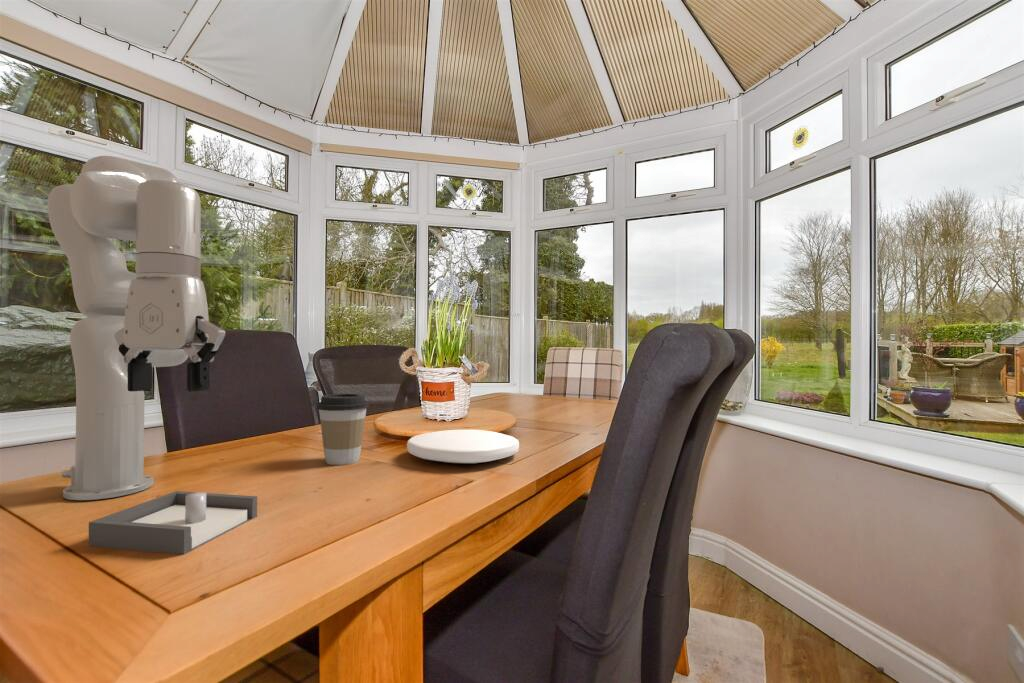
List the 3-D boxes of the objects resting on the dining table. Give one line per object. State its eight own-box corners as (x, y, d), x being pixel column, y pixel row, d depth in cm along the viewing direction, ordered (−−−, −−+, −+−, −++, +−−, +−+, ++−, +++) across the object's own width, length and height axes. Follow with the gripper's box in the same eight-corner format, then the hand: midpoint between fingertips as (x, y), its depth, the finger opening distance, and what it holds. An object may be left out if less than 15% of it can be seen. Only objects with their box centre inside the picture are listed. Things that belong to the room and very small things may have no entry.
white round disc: (433, 425, 132) (528, 430, 127) (431, 449, 132) (527, 455, 126) (387, 432, 105) (506, 439, 100) (385, 462, 105) (504, 471, 99)
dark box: (88, 553, 61) (88, 522, 61) (176, 516, 74) (176, 491, 74) (183, 562, 59) (184, 529, 59) (256, 523, 72) (257, 496, 72)
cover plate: (110, 541, 62) (110, 503, 62) (175, 514, 72) (175, 481, 72) (191, 548, 61) (192, 509, 61) (247, 520, 70) (247, 485, 71)
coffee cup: (373, 455, 116) (374, 393, 116) (360, 467, 105) (361, 398, 105) (325, 455, 115) (326, 393, 115) (307, 467, 104) (308, 398, 104)
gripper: (91, 269, 66) (91, 393, 66) (200, 263, 63) (200, 393, 63) (142, 277, 74) (142, 388, 73) (241, 272, 71) (241, 388, 70)
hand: (168, 390), depth 68 cm, fingers open, 9 cm apart
